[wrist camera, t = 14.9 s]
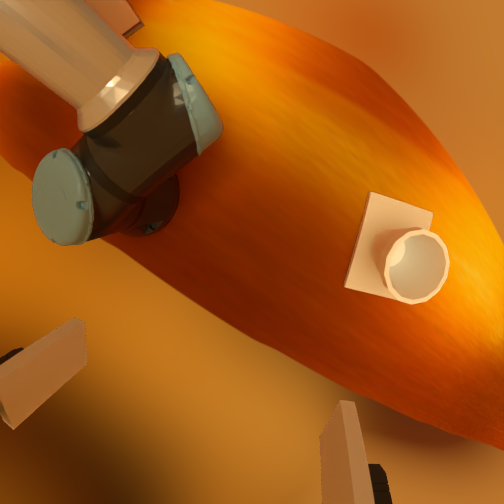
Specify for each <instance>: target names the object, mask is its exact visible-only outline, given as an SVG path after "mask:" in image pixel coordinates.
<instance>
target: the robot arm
mask: <svg viewBox="0 0 504 504" xmlns="http://www.w3.org/2000/svg"><path fill="white" fill-rule="evenodd" d="M0 51H1V52H2V53H3V54H4V55H6V56H7V57H8V58H10V59H11V60H12V61H14V62H15V63H16V64H18V65H19V66H20V67H21V68H23V69H24V70H25V71H27V72H28V73H29V74H31V75H32V76H33V77H35V78H36V79H37V80H39V81H40V82H41V83H43V84H44V85H45V86H47V87H48V88H49V89H50V90H52V91H53V92H54V93H56V94H57V95H58V96H60V97H61V98H62V99H64V100H65V101H66V102H68V103H69V104H70V105H71V106H73V107H74V108H75V109H76V110H77V120H78V129H79V130H80V131H81V132H83V133H84V135H83V136H82V138H81V139H80V140H79V141H78V142H77V143H76V144H75V145H74V147H73V148H71V149H70V150H69V149H65V148H61V149H58V150H55V151H52V152H50V153H48V154H47V155H46V156H45V157H44V158H43V159H42V160H41V162H40V163H39V165H38V167H37V169H36V172H35V175H34V179H33V185H32V205H33V211H34V215H35V218H36V221H37V223H38V225H39V227H40V229H41V231H42V232H43V233H44V235H45V236H46V237H47V238H48V239H49V240H51V241H52V242H53V243H56V244H59V245H62V246H68V245H79V244H83V243H84V242H86V241H90V240H94V239H97V238H101V237H104V236H107V235H111V234H115V233H118V232H120V233H123V234H126V235H129V236H134V237H141V236H146V235H150V234H153V233H155V232H157V231H159V230H161V229H162V228H163V227H165V226H166V225H167V224H168V222H169V221H170V220H171V218H172V217H173V215H174V213H175V211H176V208H177V205H178V200H179V185H178V180H177V177H176V174H175V173H176V172H177V171H178V170H179V169H181V168H182V167H183V166H185V165H186V164H187V163H188V162H190V161H191V160H192V159H193V158H195V157H196V156H198V157H199V156H200V155H201V154H202V152H203V151H204V150H205V149H206V148H207V147H209V146H210V145H211V144H212V143H214V142H215V141H216V140H217V139H218V138H219V137H220V136H221V134H222V131H223V123H222V121H221V118H220V117H219V115H218V113H217V111H216V109H215V108H214V106H213V104H212V102H211V101H210V99H209V98H208V96H207V94H206V93H205V91H204V89H203V88H202V86H201V85H200V83H199V82H198V80H197V79H196V77H195V75H194V74H193V72H192V71H191V69H190V67H189V66H188V64H187V63H186V61H185V60H184V59H183V57H182V56H181V55H180V54H179V53H175V54H173V55H169V56H168V57H167V59H166V58H165V57H164V56H163V55H162V54H161V53H160V52H159V51H158V50H157V49H156V48H135V47H134V46H133V45H132V44H131V43H129V42H128V41H127V40H126V39H125V38H124V37H123V36H122V35H121V34H120V33H119V32H118V31H117V30H116V29H115V28H114V27H113V26H112V25H111V24H110V23H109V22H108V21H107V20H106V19H104V18H103V17H102V16H101V15H100V14H99V13H98V12H97V11H96V10H95V9H94V8H93V7H92V6H90V5H89V4H88V3H87V2H86V1H85V0H0ZM86 364H87V351H86V335H85V322H83V321H81V320H79V319H77V318H75V317H74V318H73V319H71V320H69V321H68V322H66V323H65V324H63V325H61V326H60V327H58V328H57V329H55V330H53V331H52V332H50V333H49V334H47V335H45V336H44V337H43V338H41V339H39V340H38V341H36V342H35V343H33V344H32V345H30V346H29V347H27V348H25V349H23V348H18V349H14V350H12V351H10V352H9V353H7V354H6V355H5V356H2V357H1V358H0V414H1V416H2V419H3V421H4V422H5V423H7V424H8V425H9V426H10V427H11V428H12V429H13V430H14V429H15V428H16V427H17V426H18V425H19V424H20V423H21V422H23V420H25V419H26V418H27V417H28V416H29V415H30V414H31V413H32V412H34V411H35V410H36V409H37V408H38V407H39V406H40V405H41V404H42V403H43V402H45V401H46V400H47V399H48V398H49V397H50V396H51V395H52V394H53V393H54V392H55V391H57V390H58V389H59V388H60V387H61V386H62V385H64V384H65V383H66V382H67V381H68V380H69V379H70V378H71V377H72V376H74V375H75V374H76V373H77V372H78V371H79V370H81V369H82V368H83V367H84V366H85V365H86ZM320 456H321V486H322V504H392V499H391V495H390V492H389V485H388V484H387V483H388V481H387V476H386V473H385V471H384V470H383V468H382V467H381V466H380V464H368V462H367V457H366V452H365V447H364V442H363V437H362V433H361V428H360V424H359V419H358V415H357V411H356V406H355V402H352V401H345V400H340V401H339V402H338V404H337V406H336V408H335V410H334V412H333V414H332V416H331V418H330V419H329V421H328V423H327V425H326V426H325V428H324V430H323V432H322V433H321V435H320Z"/></svg>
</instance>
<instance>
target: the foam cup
mask: <svg viewBox="0 0 504 504" xmlns="http://www.w3.org/2000/svg"><path fill="white" fill-rule="evenodd" d="M370 253H371V256H372V259H373V261H374V263H375V265H376V267H377V269H378V271H379V273H380V275H381V278H382V282H383V285H384V286H385V287H386V288H387V289H388V290H389V291H390V292H391V293H392V294H393V295H394V296H395V297H396V298H397V299H398V301H402V302H405V303H409V304H417V303H421V302H425V301H427V300H429V299H430V298H431V297H433V296H434V295H435V294H436V293H438V292H439V290H440V289H441V287H442V285H443V284H444V282H445V280H446V278H447V274H448V269H449V263H450V261H449V256H448V251H447V247H446V245H445V244H444V242H443V241H442V240H441V239H440V237H439V236H438V235H437V234H435V233H432V232H430V231H427V230H425V229H422V228H419V227H412V228H402V229H385V230H381V231H380V232H378V233H377V234H376V235H375V236H374V238H373V239H372V241H371V245H370Z"/></svg>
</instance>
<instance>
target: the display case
mask: <svg viewBox="0 0 504 504" xmlns="http://www.w3.org/2000/svg"><path fill="white" fill-rule="evenodd" d="M85 1H86V2H87V3H88V4H89V5H90V6H92V7H93V8H94V9H95V10H96V11H97V12H98V13H99V14H100V15H101V16H102V17H103V18H104V19H106V20H107V21H108V22H109V23H110V24H111V25H112V26H113V27H114V28H115V29H116V30H117V31H118V32H119V33H120V34H121V35H122V36H123V37H124V38H125V39H126V38H128V37H129V36H130V35H132V34H133V33H134V32H136V31H137V30H138V29H140V28H141V27H143V26H144V24H143V22H142V21H141V19H140V18H139V16H138V15H137V13H136V12H135V11H134V9H133V8H132V6H131V5H130V3H129V2H128V1H127V0H85Z"/></svg>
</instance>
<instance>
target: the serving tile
mask: <svg viewBox="0 0 504 504" xmlns="http://www.w3.org/2000/svg"><path fill="white" fill-rule="evenodd" d="M432 217H433V213H432V212H429V211H427V210H424V209H421V208H418V207H416V206H413V205H410V204H407V203H404V202H401V201H398V200H395V199H392V198H389V197H386V196H383V195H380V194H377V193H374V192H369V193H368V197H367V201H366V205H365V209H364V213H363V217H362V221H361V225H360V229H359V232H358V236H357V240H356V243H355V247H354V250H353V254H352V257H351V260H350V264H349V267H348V270H347V274H346V277H345V280H344V283H343V285H344V287H346V288H350V289H354V290H358V291H362V292H366V293H370V294H375V295H379V296H383V297H387V298H391V299H395V300H398V299H397V298H396V297H395V296H394V295H393V294H392V293H391V292H390V291H389V290H388V289H387V288H386V287H385V286H384V285H383V282H382V278H381V275H380V273H379V271H378V269H377V267H376V265H375V263H374V261H373V259H372V256H371V253H370V245H371V241H372V239H373V238H374V236H375V235H376V234H377V233H378V232H380V231H381V230H385V229H402V228H412V227H419V228H422V229H425V230H427V231H429V229H430V225H431V221H432Z"/></svg>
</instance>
